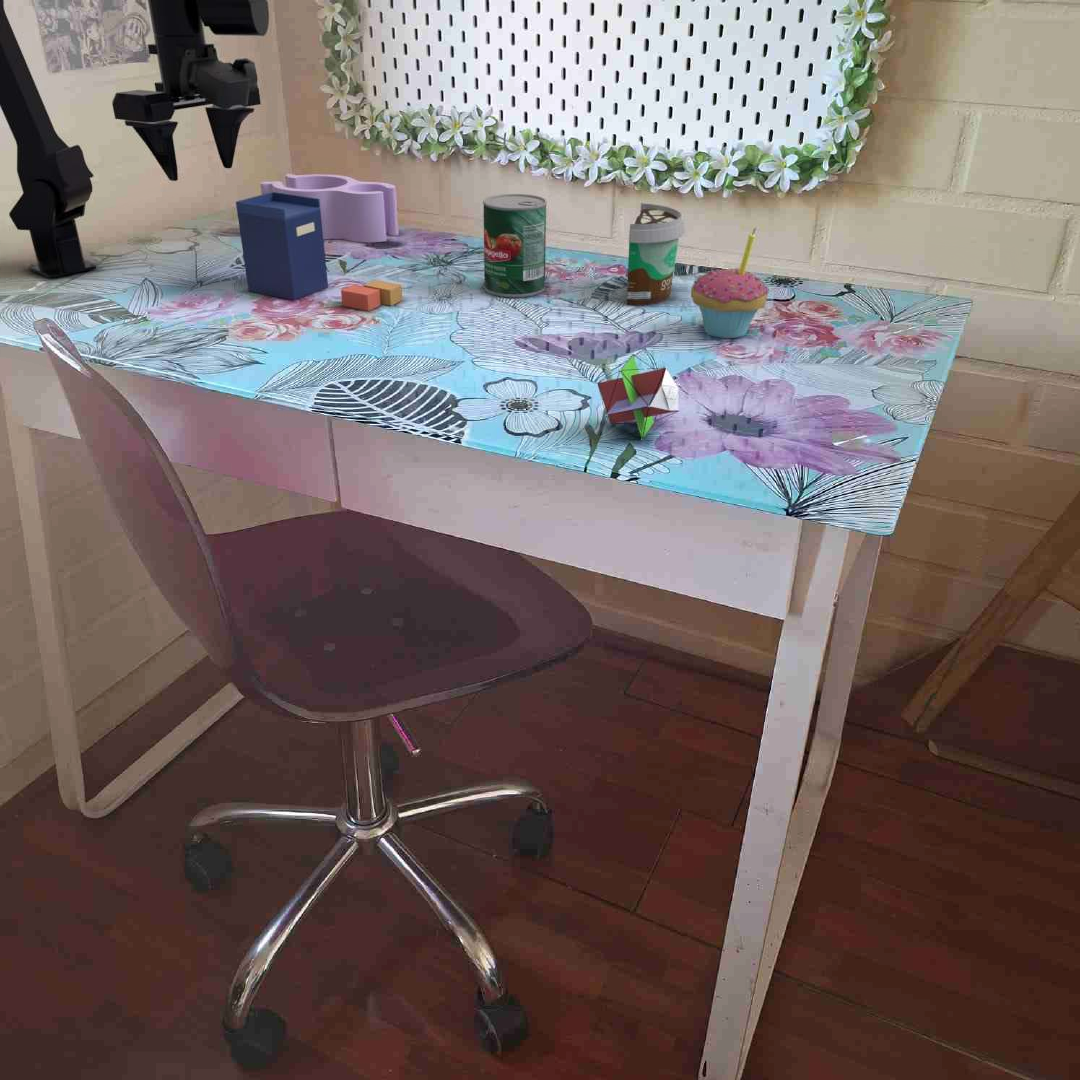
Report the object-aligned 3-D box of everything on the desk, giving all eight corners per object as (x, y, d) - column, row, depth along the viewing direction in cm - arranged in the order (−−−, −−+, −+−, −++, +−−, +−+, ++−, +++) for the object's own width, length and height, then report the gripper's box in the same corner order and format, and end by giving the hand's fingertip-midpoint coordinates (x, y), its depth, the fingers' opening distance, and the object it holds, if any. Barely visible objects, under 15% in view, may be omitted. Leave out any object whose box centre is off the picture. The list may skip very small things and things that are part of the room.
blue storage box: (248, 291, 125) (235, 201, 119) (283, 278, 130) (272, 191, 124) (295, 300, 122) (284, 209, 116) (329, 287, 127) (320, 198, 121)
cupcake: (767, 324, 116) (781, 220, 110) (756, 348, 109) (770, 238, 103) (695, 316, 118) (704, 214, 112) (680, 339, 112) (689, 231, 105)
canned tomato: (474, 293, 125) (472, 204, 120) (498, 276, 132) (497, 191, 126) (533, 300, 123) (533, 210, 117) (554, 283, 129) (555, 196, 124)
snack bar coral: (367, 295, 118) (368, 311, 119) (379, 289, 120) (380, 305, 121) (340, 290, 119) (342, 306, 120) (353, 284, 121) (354, 300, 122)
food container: (675, 312, 120) (682, 228, 115) (624, 308, 121) (629, 224, 116) (683, 283, 130) (689, 204, 125) (636, 279, 131) (641, 202, 126)
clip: (411, 228, 153) (408, 182, 150) (371, 247, 143) (367, 198, 140) (301, 216, 159) (296, 171, 156) (255, 233, 150) (249, 186, 146)
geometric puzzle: (569, 412, 88) (625, 352, 84) (593, 385, 94) (647, 327, 89) (628, 466, 89) (686, 409, 84) (648, 436, 95) (704, 381, 90)
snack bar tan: (389, 290, 120) (391, 306, 121) (401, 284, 122) (402, 300, 123) (363, 284, 121) (364, 300, 122) (375, 279, 123) (376, 295, 124)
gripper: (168, 43, 105) (193, 195, 113) (286, 32, 119) (300, 168, 127) (95, 38, 110) (125, 184, 118) (217, 28, 124) (236, 159, 132)
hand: (201, 174), depth 124 cm, fingers open, 9 cm apart
